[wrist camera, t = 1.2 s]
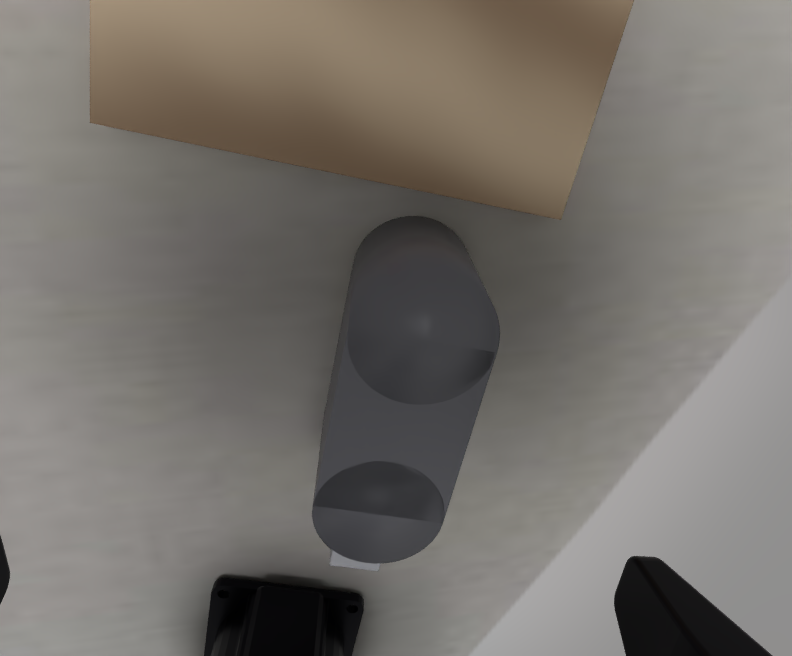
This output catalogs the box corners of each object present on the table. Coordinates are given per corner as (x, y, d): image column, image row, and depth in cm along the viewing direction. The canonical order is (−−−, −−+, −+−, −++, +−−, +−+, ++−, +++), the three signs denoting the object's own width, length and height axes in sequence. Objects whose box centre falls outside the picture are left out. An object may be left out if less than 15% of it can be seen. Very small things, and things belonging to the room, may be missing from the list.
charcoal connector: (403, 516, 25) (411, 622, 20) (306, 503, 24) (292, 608, 20) (484, 229, 20) (518, 283, 15) (364, 205, 19) (362, 253, 15)
